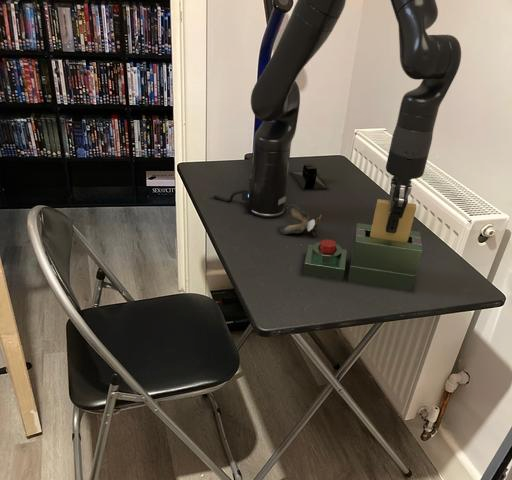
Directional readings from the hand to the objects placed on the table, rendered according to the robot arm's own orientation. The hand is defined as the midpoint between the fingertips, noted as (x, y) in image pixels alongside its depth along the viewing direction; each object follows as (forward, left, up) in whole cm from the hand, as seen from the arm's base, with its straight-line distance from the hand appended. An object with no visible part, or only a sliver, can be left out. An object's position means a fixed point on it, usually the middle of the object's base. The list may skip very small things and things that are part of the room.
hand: (390, 229), depth 122 cm
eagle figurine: (-20, +16, -12) cm, 28 cm away
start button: (-13, 0, -7) cm, 14 cm away
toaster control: (-13, 0, -12) cm, 17 cm away
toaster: (0, 0, -12) cm, 12 cm away
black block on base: (-21, +49, -12) cm, 55 cm away
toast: (0, 0, -2) cm, 2 cm away
